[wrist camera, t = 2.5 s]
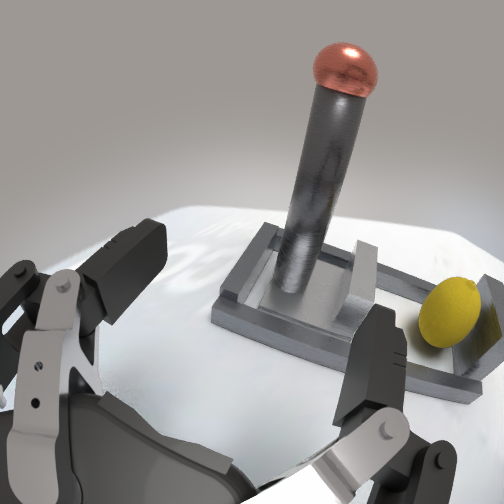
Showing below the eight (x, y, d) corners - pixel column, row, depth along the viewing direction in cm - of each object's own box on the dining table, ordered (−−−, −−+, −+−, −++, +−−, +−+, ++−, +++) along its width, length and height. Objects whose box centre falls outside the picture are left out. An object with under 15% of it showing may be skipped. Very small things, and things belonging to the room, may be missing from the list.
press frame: (465, 311, 27) (497, 268, 22) (475, 405, 17) (526, 365, 13) (264, 238, 32) (275, 181, 27) (211, 322, 23) (214, 257, 18)
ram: (357, 283, 28) (437, 79, 14) (347, 346, 22) (472, 84, 9) (280, 256, 30) (327, 42, 16) (251, 311, 24) (306, 26, 10)
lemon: (399, 315, 25) (439, 254, 20) (439, 320, 25) (480, 265, 20) (410, 362, 21) (462, 304, 16) (452, 363, 21) (503, 310, 16)
